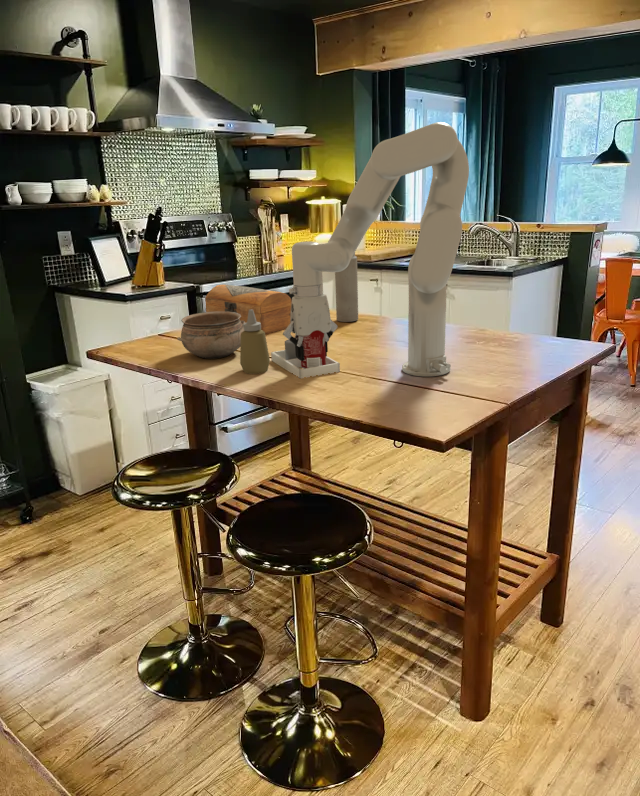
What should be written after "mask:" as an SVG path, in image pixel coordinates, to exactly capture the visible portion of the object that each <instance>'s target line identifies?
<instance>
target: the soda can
mask: <svg viewBox="0 0 640 796" xmlns="http://www.w3.org/2000/svg"><path fill="white" fill-rule="evenodd" d="M302 346H303V349H304V360H303V361H301V367H300V368H302V369H306V368H311V367H317V366H323V365H326V354H325V333H323V332H321V331H319V330H315V331H313V332H312V333H311V334H310V335H308V336H304V337H303V341H302Z"/></svg>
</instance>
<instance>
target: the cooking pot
mask: <svg viewBox="0 0 640 796" xmlns="http://www.w3.org/2000/svg"><path fill="white" fill-rule="evenodd" d="M240 317H241V315H240V314H238V313H235V312H226V311H215V312H206V311H204V312H198V313H193V314H190V315H187V316H184V317H182V318H181V323H183V325H182V327H181V332H180V337H177V341H179V342H181V343H182V346H183V347H184V349H186V351H188V352H189V353H190V354H192V355H194V356H196V357H199V358H202V359H206V360H207V359H209V360H211V359H212V360H215V359H221V358H225V357H229V356H231V355H232V354H233V353H234V352H236V351H237V350H239V348H240V345H241V333H242V332H243V331H244V327H243V324H244V323H245V321H240V320H239V318H240ZM242 323H243V324H242Z"/></svg>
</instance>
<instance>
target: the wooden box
mask: <svg viewBox="0 0 640 796" xmlns="http://www.w3.org/2000/svg"><path fill="white" fill-rule="evenodd" d="M204 301H205V312H215V311H226V312H235V313H238V314H240V315H241V317H240V318H239V320H240V321H245V323H247V319H248V312H249V310H253V311H254V314H255V318H256V321H257V322H260V323H261V329H260V330H263V331H264V332H265V335H268V334H272V333H275V332H279V331H282V330H284V331H285V330H286V328H287V327H288V326H289V324H290V323H291V320H290V318H291V303H292V298H291V297H290V296H289V295H288V294H287V293H286V292H285V293H284V292H282V291H277V290H276V291H275V290H269V289H263V288H256V287H249V286H243V285H242V286H241V285H230V284H216V285H215V286H213V287H212V288H211V289H210V290H209V291H208V293H207V294H206V295H205V298H204ZM242 324H243V323H242ZM244 331H245V330H244Z"/></svg>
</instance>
